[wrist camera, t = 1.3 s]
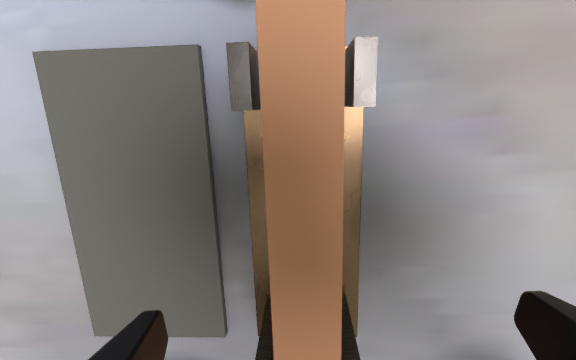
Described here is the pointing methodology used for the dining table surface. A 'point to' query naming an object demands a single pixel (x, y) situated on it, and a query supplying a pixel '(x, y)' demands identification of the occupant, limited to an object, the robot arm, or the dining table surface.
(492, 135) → the dining table surface
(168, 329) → the mat
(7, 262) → the dining table surface
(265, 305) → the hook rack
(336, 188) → the rail
